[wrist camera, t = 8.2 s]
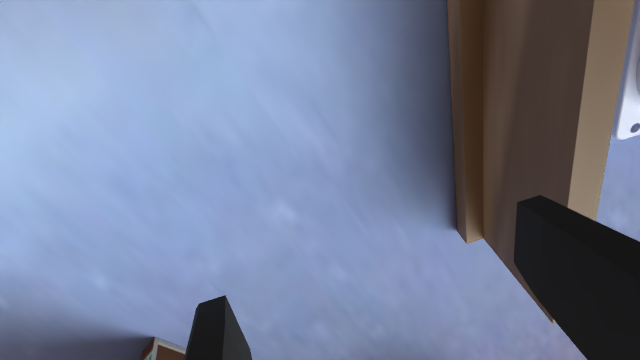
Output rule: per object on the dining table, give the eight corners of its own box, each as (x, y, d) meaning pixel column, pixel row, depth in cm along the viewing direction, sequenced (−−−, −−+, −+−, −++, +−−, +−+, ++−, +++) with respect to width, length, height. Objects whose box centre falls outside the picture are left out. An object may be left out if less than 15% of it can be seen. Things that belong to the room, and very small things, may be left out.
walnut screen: (533, -321, 14) (755, -434, 8) (511, 213, 25) (598, 307, 20) (433, -297, 13) (598, -399, 8) (457, 231, 25) (532, 330, 20)
